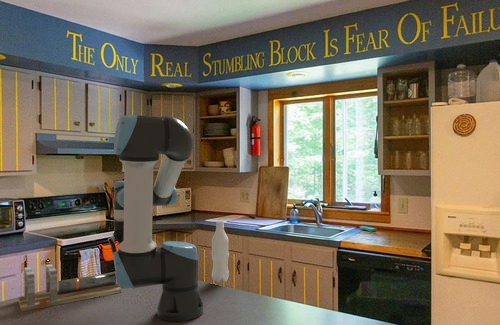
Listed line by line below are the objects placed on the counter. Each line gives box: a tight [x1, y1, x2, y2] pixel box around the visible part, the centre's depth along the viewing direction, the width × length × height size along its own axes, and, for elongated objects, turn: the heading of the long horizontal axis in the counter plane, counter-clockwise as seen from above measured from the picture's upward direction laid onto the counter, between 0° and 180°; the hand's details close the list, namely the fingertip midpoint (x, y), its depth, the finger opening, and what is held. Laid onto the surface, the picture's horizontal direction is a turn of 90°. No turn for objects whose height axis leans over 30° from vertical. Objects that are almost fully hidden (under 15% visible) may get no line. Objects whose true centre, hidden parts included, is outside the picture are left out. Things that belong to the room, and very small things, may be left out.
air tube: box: [57, 271, 117, 294], centre depth 153 cm, size 20×5×5 cm, turn 124°
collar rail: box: [17, 263, 122, 312], centre depth 149 cm, size 13×34×12 cm, turn 124°
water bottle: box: [211, 220, 230, 284], centre depth 167 cm, size 7×7×25 cm
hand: (124, 278), depth 161 cm, fingers closed
